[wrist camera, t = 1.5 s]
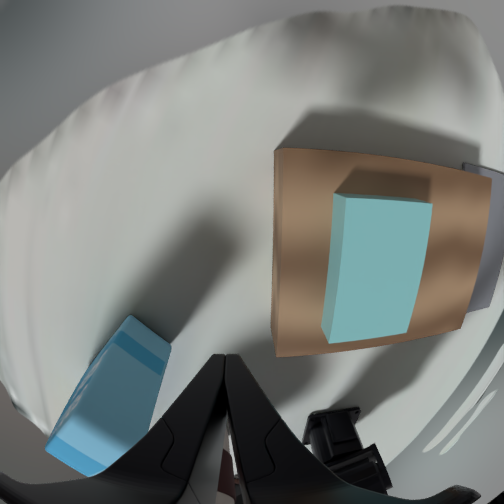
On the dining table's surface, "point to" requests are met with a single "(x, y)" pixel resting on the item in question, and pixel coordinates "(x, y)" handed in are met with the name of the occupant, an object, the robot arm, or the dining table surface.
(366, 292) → the teal foam pad
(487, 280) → the mat
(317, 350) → the brown flat block
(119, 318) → the dining table surface
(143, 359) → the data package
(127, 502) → the robot arm
